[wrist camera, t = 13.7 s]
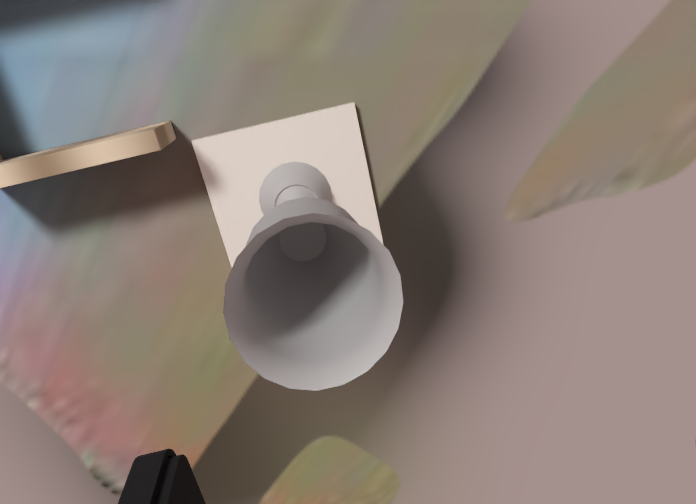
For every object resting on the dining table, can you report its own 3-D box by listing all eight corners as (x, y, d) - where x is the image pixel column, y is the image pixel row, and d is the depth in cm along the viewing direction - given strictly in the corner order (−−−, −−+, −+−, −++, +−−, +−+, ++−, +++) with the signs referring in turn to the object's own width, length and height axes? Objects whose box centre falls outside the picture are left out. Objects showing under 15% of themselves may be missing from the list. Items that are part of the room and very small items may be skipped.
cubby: (101, -92, 31) (69, -120, 26) (176, 138, 35) (160, 150, 31) (-113, -46, 30) (-185, -66, 26) (-8, 182, 35) (-52, 200, 30)
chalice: (242, 145, 35) (215, 215, 19) (344, 144, 36) (406, 209, 19) (249, 250, 38) (230, 397, 21) (344, 246, 39) (400, 384, 22)
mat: (353, 101, 36) (354, 102, 35) (383, 251, 40) (385, 253, 39) (192, 139, 36) (191, 140, 35) (239, 287, 39) (238, 290, 39)
